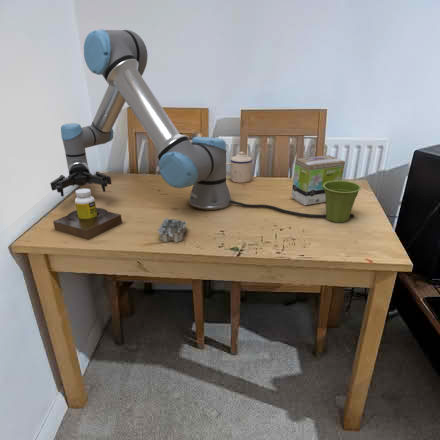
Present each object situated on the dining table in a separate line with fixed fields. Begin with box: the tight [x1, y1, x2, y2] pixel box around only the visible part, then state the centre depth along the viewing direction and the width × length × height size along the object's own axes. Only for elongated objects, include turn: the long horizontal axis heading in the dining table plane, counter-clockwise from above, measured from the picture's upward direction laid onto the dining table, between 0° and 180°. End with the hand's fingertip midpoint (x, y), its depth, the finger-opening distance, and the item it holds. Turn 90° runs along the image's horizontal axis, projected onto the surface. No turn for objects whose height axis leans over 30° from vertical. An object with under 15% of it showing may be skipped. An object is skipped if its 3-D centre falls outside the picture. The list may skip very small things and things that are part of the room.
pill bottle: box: [74, 188, 97, 219], centre depth 133 cm, size 6×6×11 cm
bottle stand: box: [52, 207, 123, 241], centre depth 134 cm, size 16×16×3 cm
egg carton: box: [157, 217, 187, 243], centre depth 126 cm, size 11×8×4 cm
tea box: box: [291, 154, 346, 206], centre depth 150 cm, size 15×10×15 cm, turn 114°
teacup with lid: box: [226, 151, 253, 184], centre depth 172 cm, size 12×9×12 cm
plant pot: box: [323, 180, 362, 223], centre depth 135 cm, size 12×12×11 cm
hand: (83, 190), depth 137 cm, fingers open, 13 cm apart
